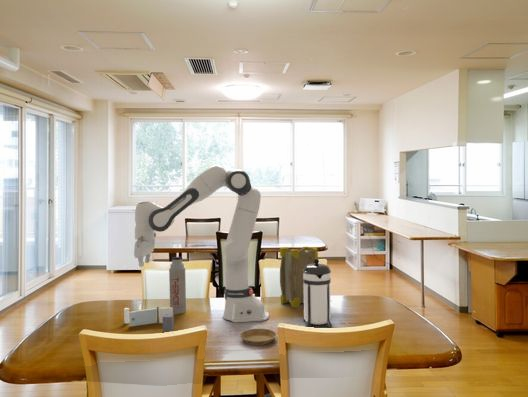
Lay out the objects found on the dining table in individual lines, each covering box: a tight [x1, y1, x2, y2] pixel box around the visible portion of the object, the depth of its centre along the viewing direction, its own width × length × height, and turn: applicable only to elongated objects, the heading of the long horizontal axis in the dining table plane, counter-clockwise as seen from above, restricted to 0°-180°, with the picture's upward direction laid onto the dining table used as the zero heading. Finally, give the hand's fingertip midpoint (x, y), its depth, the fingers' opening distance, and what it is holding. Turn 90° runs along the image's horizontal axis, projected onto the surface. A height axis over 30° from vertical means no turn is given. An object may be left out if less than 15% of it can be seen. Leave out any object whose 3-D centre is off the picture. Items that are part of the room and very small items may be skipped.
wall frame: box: [123, 306, 173, 324], centre depth 199 cm, size 22×1×8 cm, turn 89°
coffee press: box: [302, 258, 333, 328], centre depth 195 cm, size 17×16×30 cm
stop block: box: [162, 314, 175, 333], centre depth 187 cm, size 4×4×7 cm
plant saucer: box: [239, 328, 277, 346], centre depth 175 cm, size 15×15×3 cm
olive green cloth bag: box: [279, 246, 319, 308], centre depth 230 cm, size 20×11×30 cm, turn 125°
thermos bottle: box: [168, 256, 187, 315], centre depth 216 cm, size 8×8×28 cm
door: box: [129, 307, 158, 327], centre depth 196 cm, size 12×2×6 cm, turn 114°
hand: (144, 264), depth 201 cm, fingers open, 8 cm apart
